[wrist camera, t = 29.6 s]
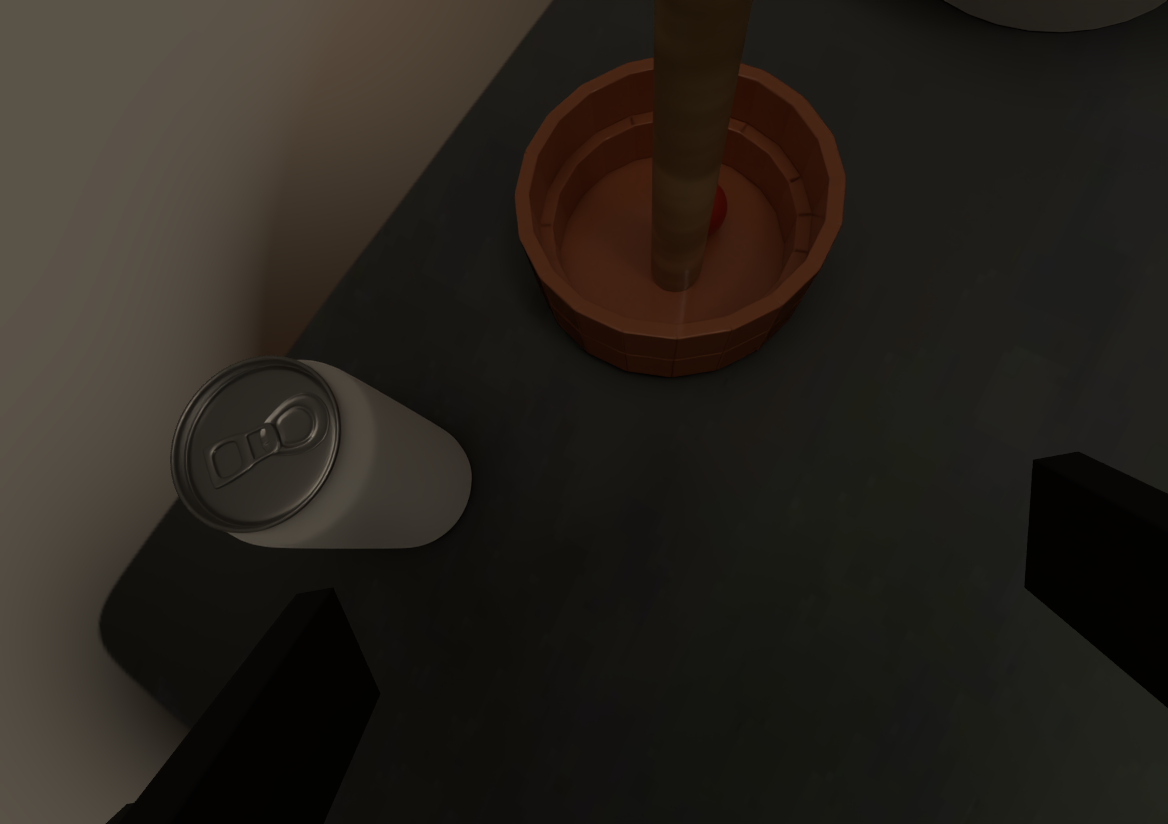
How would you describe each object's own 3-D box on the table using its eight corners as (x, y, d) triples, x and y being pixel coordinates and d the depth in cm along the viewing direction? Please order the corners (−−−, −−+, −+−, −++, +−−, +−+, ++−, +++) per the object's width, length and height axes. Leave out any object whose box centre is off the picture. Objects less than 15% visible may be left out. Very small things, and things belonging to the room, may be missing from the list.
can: (494, 512, 27) (382, 485, 16) (380, 571, 27) (185, 587, 16) (446, 403, 29) (314, 308, 18) (339, 458, 29) (136, 399, 18)
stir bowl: (501, 213, 32) (468, 139, 26) (721, 105, 32) (737, 7, 26) (609, 427, 28) (599, 396, 22) (859, 304, 28) (914, 240, 22)
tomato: (715, 195, 29) (661, 206, 30) (724, 158, 27) (663, 171, 27) (728, 244, 29) (672, 255, 29) (738, 211, 26) (676, 224, 26)
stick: (644, 256, 29) (640, -175, 12) (691, 241, 29) (756, -214, 12) (659, 298, 28) (678, -93, 11) (707, 283, 28) (802, -135, 11)
